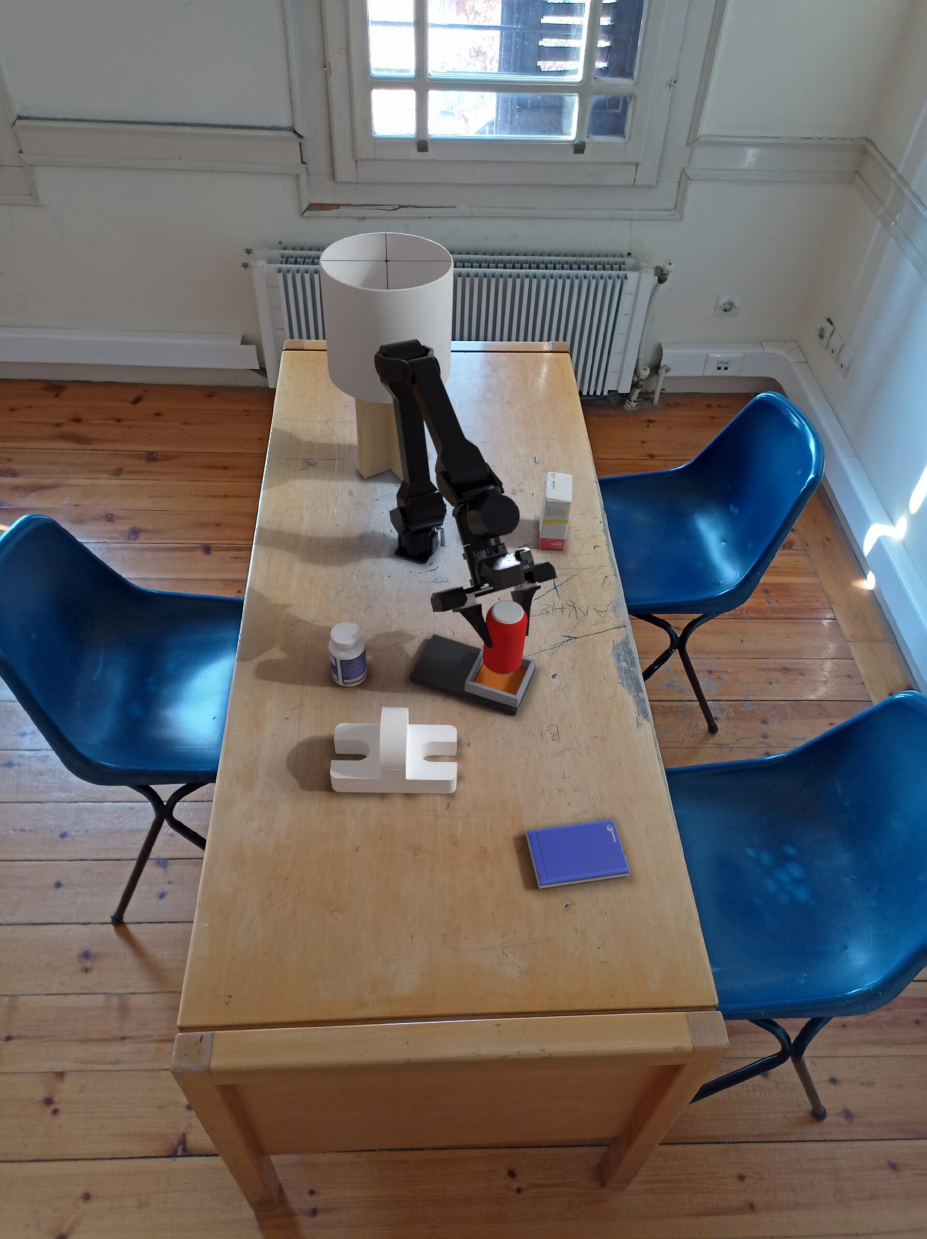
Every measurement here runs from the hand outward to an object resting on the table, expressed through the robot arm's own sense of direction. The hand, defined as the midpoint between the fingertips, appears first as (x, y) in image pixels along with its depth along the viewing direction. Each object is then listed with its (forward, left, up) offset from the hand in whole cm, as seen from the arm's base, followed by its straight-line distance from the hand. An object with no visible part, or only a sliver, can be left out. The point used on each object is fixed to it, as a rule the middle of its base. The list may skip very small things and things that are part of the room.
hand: (508, 641), depth 129 cm
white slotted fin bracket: (-10, -20, -12) cm, 25 cm away
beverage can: (-1, +1, -7) cm, 7 cm away
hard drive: (+19, -24, -12) cm, 33 cm away
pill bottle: (-24, -7, -12) cm, 27 cm away
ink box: (-4, +39, -12) cm, 41 cm away
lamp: (-41, +47, -12) cm, 64 cm away
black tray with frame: (-6, +1, -11) cm, 13 cm away
